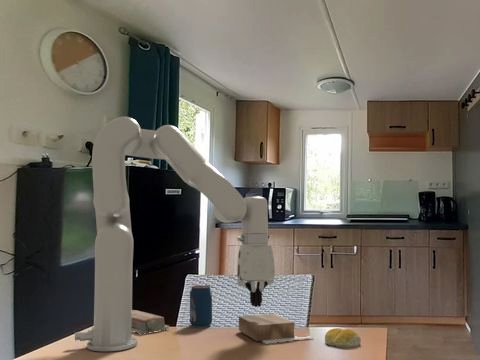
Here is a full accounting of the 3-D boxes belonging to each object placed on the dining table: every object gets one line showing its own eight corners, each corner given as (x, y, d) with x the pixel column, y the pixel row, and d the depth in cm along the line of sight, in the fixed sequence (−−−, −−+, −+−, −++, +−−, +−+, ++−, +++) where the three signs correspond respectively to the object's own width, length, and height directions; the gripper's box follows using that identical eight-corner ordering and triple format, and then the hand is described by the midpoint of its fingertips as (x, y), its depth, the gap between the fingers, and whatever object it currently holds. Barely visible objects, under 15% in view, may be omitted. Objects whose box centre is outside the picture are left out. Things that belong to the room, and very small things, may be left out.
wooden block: (256, 325, 121) (294, 322, 125) (238, 316, 134) (273, 313, 138) (257, 341, 120) (294, 337, 124) (238, 330, 134) (273, 327, 137)
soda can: (214, 323, 145) (214, 285, 147) (208, 328, 139) (208, 288, 140) (194, 323, 147) (194, 285, 148) (186, 327, 140) (186, 287, 142)
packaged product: (170, 314, 138) (141, 319, 131) (170, 331, 137) (141, 336, 131) (139, 307, 151) (111, 311, 144) (139, 322, 151) (111, 327, 144)
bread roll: (337, 339, 125) (336, 323, 125) (365, 344, 118) (364, 328, 119) (317, 344, 119) (317, 328, 120) (346, 350, 113) (345, 333, 113)
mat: (265, 343, 119) (265, 342, 119) (241, 330, 136) (241, 328, 136) (313, 339, 124) (313, 337, 124) (284, 326, 141) (284, 325, 141)
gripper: (234, 240, 125) (235, 310, 123) (284, 239, 130) (286, 306, 128) (226, 240, 132) (226, 305, 130) (273, 239, 137) (274, 302, 135)
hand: (256, 305), depth 129 cm, fingers closed
